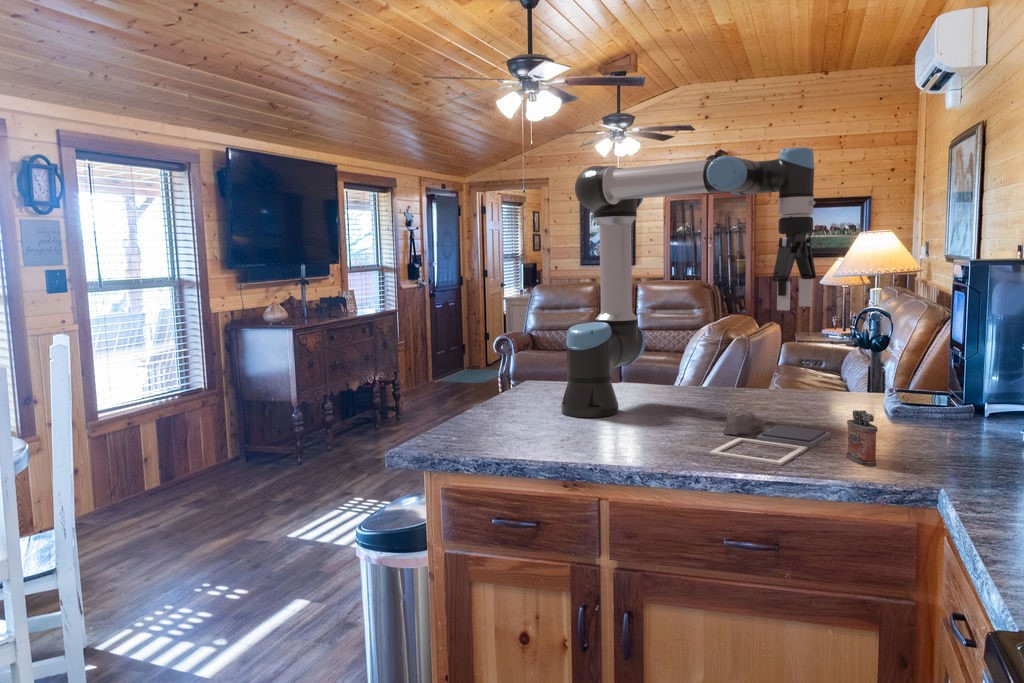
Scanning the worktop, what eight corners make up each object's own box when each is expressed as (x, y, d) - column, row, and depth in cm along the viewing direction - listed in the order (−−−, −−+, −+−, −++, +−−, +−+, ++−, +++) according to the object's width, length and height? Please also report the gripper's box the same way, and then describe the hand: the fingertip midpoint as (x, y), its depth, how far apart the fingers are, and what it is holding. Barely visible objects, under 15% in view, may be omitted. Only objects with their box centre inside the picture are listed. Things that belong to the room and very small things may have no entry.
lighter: (842, 456, 154) (843, 407, 152) (858, 455, 154) (859, 406, 153) (863, 467, 146) (865, 415, 145) (880, 466, 146) (882, 415, 145)
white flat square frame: (709, 454, 158) (708, 451, 158) (738, 439, 169) (738, 437, 169) (781, 465, 148) (781, 462, 148) (807, 449, 160) (807, 446, 160)
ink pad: (756, 440, 168) (756, 434, 168) (776, 430, 177) (777, 424, 177) (812, 448, 161) (812, 441, 160) (830, 436, 170) (830, 430, 170)
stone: (748, 439, 170) (748, 413, 169) (715, 434, 176) (715, 409, 175) (769, 431, 177) (769, 406, 176) (737, 426, 183) (737, 402, 182)
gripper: (791, 214, 165) (790, 312, 167) (830, 216, 184) (829, 305, 186) (758, 216, 170) (757, 311, 172) (799, 218, 189) (798, 304, 191)
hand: (794, 308), depth 179 cm, fingers open, 13 cm apart
